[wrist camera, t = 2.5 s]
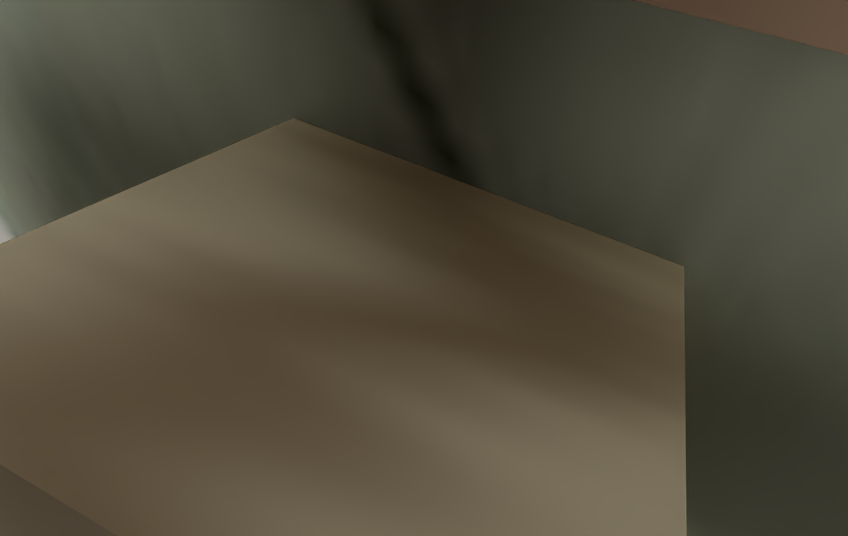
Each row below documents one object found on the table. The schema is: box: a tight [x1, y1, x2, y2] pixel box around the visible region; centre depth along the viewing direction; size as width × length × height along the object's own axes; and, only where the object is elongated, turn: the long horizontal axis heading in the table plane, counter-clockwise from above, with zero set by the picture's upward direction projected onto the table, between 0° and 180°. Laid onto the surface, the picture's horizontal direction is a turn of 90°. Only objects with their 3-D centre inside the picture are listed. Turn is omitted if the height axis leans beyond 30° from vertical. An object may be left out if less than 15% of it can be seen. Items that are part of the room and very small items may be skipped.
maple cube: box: [0, 118, 687, 536], centre depth 7 cm, size 6×6×6 cm
